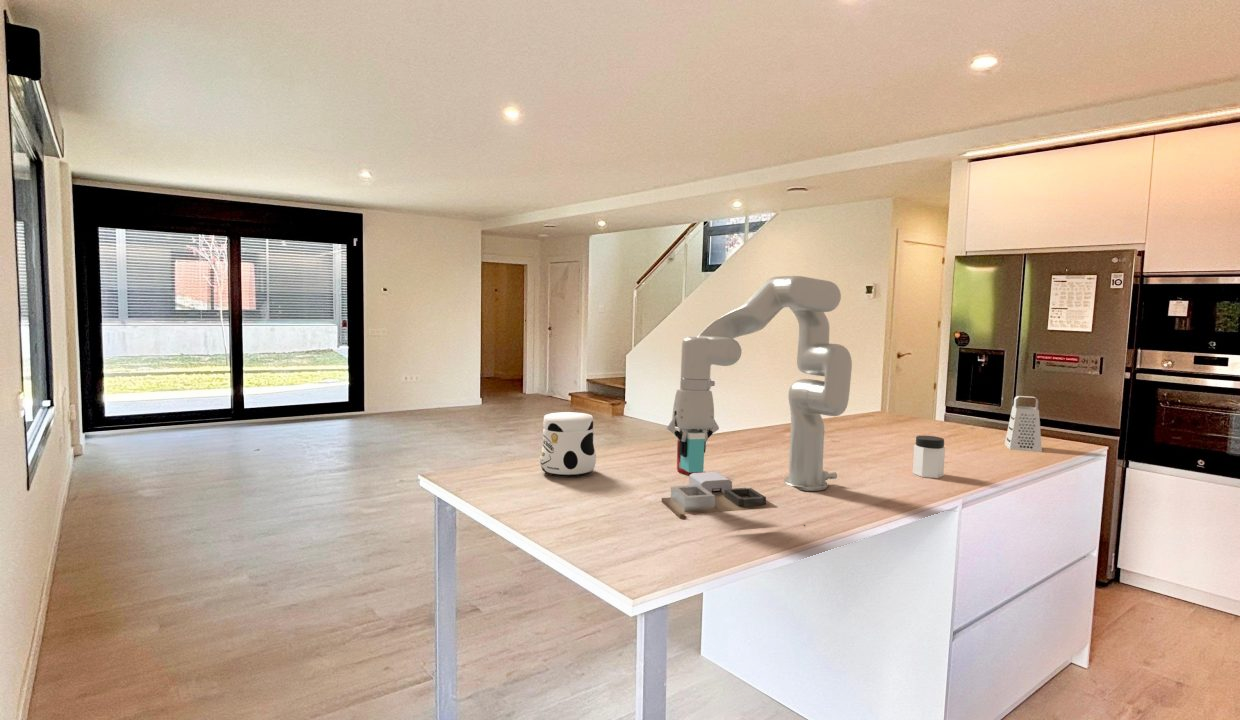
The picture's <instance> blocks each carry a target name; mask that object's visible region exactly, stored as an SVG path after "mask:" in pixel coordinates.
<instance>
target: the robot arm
mask: <svg viewBox="0 0 1240 720" xmlns="http://www.w3.org/2000/svg"><path fill="white" fill-rule="evenodd" d="M841 297H842V294H841V291H840V288H839V287H838V285H837V284H836V283H835V282H833V281H830V280H824V279H819V278H815V277H814V278H813V277H807V276H801V275H785V276H784V275H783V276H781V275H779V276H773V277H770V278H769V279H767V280H766V281H765V282H764V283H762V285H761V286H759V288H758V289H756V290H755V292H754V293H752V295H750V297H749V298H748V299H747V300H746V301H744V303H742V305H740V306H739V307H736V308H735V309H733V310H731V311H729V312H728V313H726V314H723V315H722V316H720V317H718V318H716V319H715V320H713V321H712V322H711V323H710V324H708V325H706V326H705V328H704V329H703V330H701V332H700V333H698V335H697V336H688V337H685V338H683V340H682V343H681V359H680V361H681V362H680V384H679V385H680V386H679V387H680V388H679V389H676V393H675V396H674V403H673V410H672V417H671V421H670V423H669V424H668V425H667V427H666V430H667V431H669V432H670V433H672V434H673V435H674V436H675V437H676V438H677V440H678V439H679V440H680V441H679V453H680V454H681V456H683V457H687V442H686V437H687V433H688V430H700V431H702V432H704V433H705V444H704V454H705V453H706V449H707V448H706V447H707V441H708V440H709V439H710V437H711V436H712V435H713V434H714V433H716V432H717V431H718V430H719V429H720V427H719V425H718V423H717V422H716V420H715V405H714V403H715V402H714V396H713V391H712V390H711V387H715V384H716V383H715V380H712V379H711V370H712V369H711V367H712V365H714V366H720V367H728V366H729V367H730V366H733V365H735V364H737V362H738V361H739V360H740V359H741V357H742V348H741V345H740V343H739V342H738V341H737V340H736V339H735V338H739V337H742V336H747V335H750V334H751V335H752V334H753V333H756V332H759V331H761V330H764V328H765V327H766V326H767V325H768V324H769V323H770V322H771V321H772V320H773V319H774V318H775V317H776V316H777V315H778V314H779V313H780V312H781V311H782V310H783V309H785V308H788V309H790V310H791V312H792V313H793V314H794V316H795V317H796V320H797V323H798V345H797V352H796V353H797V355H796V365H797V369H798V371H800V372H801V373H803V374H807V375H810V376H811V375H812V376H817V377H819V376H820V377H824V380H820V379H813V378H812V379H810V378H801V379H799V380H795V381H794V382H793V383H792V384H791V385H790V386H789V390H788V395H787V396H788V404H789V409H790V410H789V411H790V440H789V441H790V443H789V463H788V464H789V465H788V466H789V467H788V477H784V479H783V483H785V484H786V485H788V486H790V487H793V488H795V489H797V490H799V491H807V492H817V491H824V490H826V489H827V488H828V482H827V481H828V480H834V479H835V480H836V479H837V478H838V473H837V472H836V471H832V472H828V470H827V471H825V470H823V469H824V468H823V467H824V447H825V446H824V445H825V423H824V421H823V418H822V416H821V415H823V416H828V417H839V416H841V415H843V414H844V413H845V412H846V409H847V408H848V404H849V401H850V399H849V398H850V393H851V392H850V390H851V389H850V388H851V381H852V368H853V366H852V365H853V362H852V361H853V360H852V355H851V354H850V351H849V349H848V348H847V347H845V346H844V345H841V344H838V343H830V321H829V320H828V317H827V315H826V313H829V312H832V311H834V310H835V309H837V307H838V306H839V305H840V303H841V299H842V298H841ZM676 428H678V429H679V430H677V429H676Z"/></svg>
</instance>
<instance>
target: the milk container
mask: <svg viewBox="0 0 1240 720" xmlns="http://www.w3.org/2000/svg"><path fill="white" fill-rule="evenodd" d="M542 421H543V423H542V428H543V429H542V440H543V441H542V447H541V451H540V455H539V463H540V468H541V470H542V471H543V472H545V474H547V475H550V476H554V477H559V478H560V477H562V478H576V477H582V476H586V475H588V474H590V473H592V472H593V471H594V469H595V468H596V462H597V454H596V449H595V445H594V434H595V433H594V432H595V430H594V417H593V415H592V414H589V413H584V412H572V411H570V412H569V411H567V412H563V411H562V412H551V413H548V414H545V415H543V420H542Z"/></svg>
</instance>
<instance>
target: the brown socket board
mask: <svg viewBox="0 0 1240 720" xmlns="http://www.w3.org/2000/svg"><path fill="white" fill-rule="evenodd" d="M714 495H715V509H713V510H699V511H685V512H684V511H683V510H682V509H681V508H680V507H679V506H677V505H676V504H675V503H674V502H673V501H672V500H671V496H669V497H661V503H662V504H663V505H665V507H667V508H668V510H670V511H671V512H673V514H675V516H677V517H678V518H679V519H687V518H688V517H687V515H691V514H694V515H695V514H704V513H705V514H708V513H721V512H735V511H736V512H737V511H747V510H750V511H751V510H762V509H763V510H764V509H773V508H774V509H775V508H778V506H777V505H775V504H774V503H772V502H770V501H769V500H768V499H767V496H765V495H763V494H762V493H760V492H758V491H757V490H755V489H753V488H752V487H751V488H749V487H737V488H732V489H728V490H725V492H724V493H720V494H714Z"/></svg>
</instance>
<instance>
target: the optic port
mask: <svg viewBox="0 0 1240 720" xmlns="http://www.w3.org/2000/svg"><path fill="white" fill-rule="evenodd" d="M715 495H716V494H713V492H712V493H710V492H709V491H707V490H706V489H705V488H703V487H702V486H700V485H692V486H689V485H681V486H680V485H679V486H670V497H671V500H672V501H673V502H674V503H675V504H676V505H677V506H679V507H680V508H681V509H682V510H683V511H684V512H685V511H699V510H713V509H715Z"/></svg>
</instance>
